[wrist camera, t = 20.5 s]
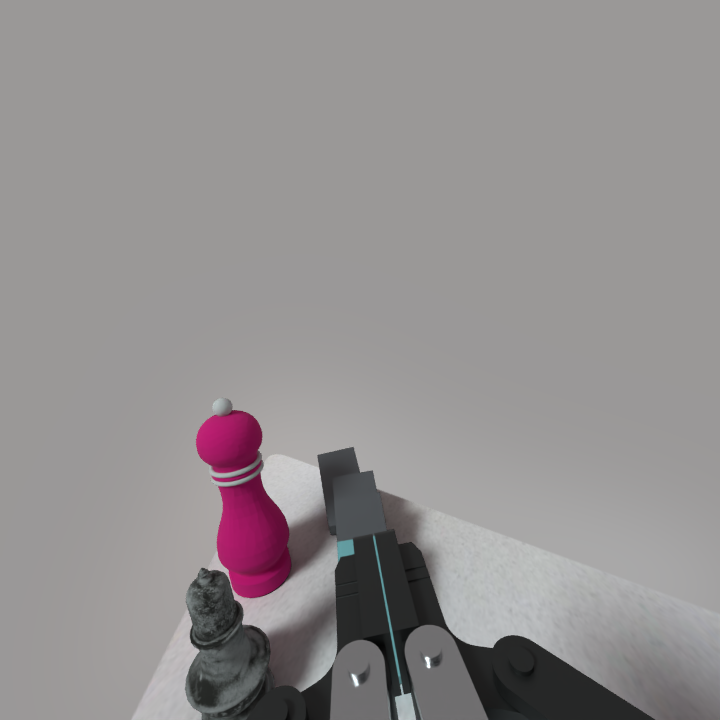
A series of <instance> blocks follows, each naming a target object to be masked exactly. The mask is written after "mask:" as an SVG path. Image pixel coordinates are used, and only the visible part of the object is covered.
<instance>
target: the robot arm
mask: <svg viewBox="0 0 720 720" xmlns="http://www.w3.org/2000/svg"><path fill="white" fill-rule="evenodd" d="M374 535H375V540H376V546H377V551H378V557H379V562H380V568H381V573H382V579H383V584H384V589H385V595H386V600H387V606H388V611H389V616H390V622H391V627H392V633H393V638H394V643H395V649H396V654H397V659H398V665H399V670H400V676H401V681H402V686H403V692H404V694H408V693H411V695H412V700H413V705H414V710H415V715H416V720H655V719H653V718H652V717H650V716H648V715H647V714H645V713H644V712H642V711H641V710H639V709H638V708H636V707H634V706H633V705H631V704H630V703H628V702H627V701H625V700H623V699H622V698H620V697H619V696H617V695H616V694H614V693H612V692H611V691H609V690H608V689H606V688H605V687H603V686H602V685H600V684H598V683H597V682H595V681H594V680H592V679H591V678H589V677H587V676H586V675H584V674H583V673H581V672H580V671H578V670H576V669H575V668H573V667H572V666H570V665H569V664H567V663H566V662H564V661H562V660H561V659H559V658H558V657H556V656H555V655H553V654H551V653H550V652H548V651H547V650H545V649H544V648H542V647H541V646H539V645H537V644H536V643H534V642H533V641H531V640H529V639H527V638H524V637H521V636H515V635H511V636H506V637H503V638H501V639H500V640H498V641H497V642H496V644H495V645H494V647H493V648H487V647H480V646H474V645H470V644H467V643H465V642H463V641H461V640H460V639H458V638H457V637H456V636H454V635H453V634H452V632H451V631H450V630H449V628H448V627H447V625H446V623H445V620H444V617H443V614H442V611H441V609H440V606H439V603H438V600H437V597H436V594H435V591H434V588H433V585H432V582H431V579H430V576H429V573H428V570H427V568H426V564H425V561H424V558H423V556H422V553H421V551H420V550H419V549H418V548H417V547H416V546H415V545H414V544H413V543H412V542H409V543H404V544H399V545H398V543H397V539H396V535H395V531H394V529H392V530H387V531H382V532H377V533H374ZM353 546H354V554H352V555H348V556H343V557H340V560H339V562H338V564H337V567H336V569H335V585H336V616H337V654H336V658H335V661H334V663H333V665H332V667H331V668H330V670H329V671H328V672H327V674H326V675H325V676H324V677H323V678H322V679H321V680H319V681H318V682H317V683H315V684H313V685H312V686H310V687H309V688H307V689H306V690H304V691H302V692H301V693H300V692H299V691H298V690H297V689H296V688H294V687H291V686H280V687H277V688H274V689H273V690H271V691H269V692H268V693H267V694H265V695H264V696H263V697H262V698H261V700H260V701H259V702H258V703H257V705H256V706H255V708H254V709H253V710H252V712H251V713H250V715H249V716H248V718H247V719H246V720H398V714H397V708H396V702H395V697H396V696H400V695H402V694H401V689H400V683H399V678H398V672H397V666H396V661H395V655H394V650H393V644H392V639H391V633H390V627H389V622H388V616H387V611H386V605H385V600H384V594H383V589H382V583H381V577H380V572H379V567H378V561H377V556H376V550H375V545H374V539H373V534H368V535H363V536H359V537H354V538H353Z"/></svg>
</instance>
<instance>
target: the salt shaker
mask: <svg viewBox="0 0 720 720" xmlns="http://www.w3.org/2000/svg"><path fill="white" fill-rule="evenodd" d="M186 603H187V607H188V610H189V614H190V617H191V620H192V623H193V625H192V628H191V630H190V639H191V643H192V644H193V646H194V647H195V648H197V649H199V651H200V652H199V653H198V654H197V656H196V657H195V659H194V661H193V663H192V664H191V666H190V669H189V672H188V675H187V678H186V687H185V690H186V695H187V700H188V701H189V703H190V704H191V706H192V707H193V708H194V709H196V710H198V711H199V712H201V713H202V720H246V719H247V718H248V716H249V715H250V713H251V712H252V710H253V709H254V708H255V706H256V705H257V703H258V702H259V701H260V700H261V698H262V697H263V696H264V695H265V694H267V693H268V692H269V691H271V690H273V689H274V688H275V684H274V677H273V675H272V673H271V670H270V669H269V668H268V667H267V666H268V663H269V658H270V645H269V640H268V638H267V636H266V634H265V633H264V632H263V631H262V630H261V629H260V628H257V627H255V626H252V625H242V620H243V616H244V615H243V608H242V606H241V604H240V603H239V602H238V601H235V600H234V597H233V593H232V589H231V585H230V582H229V579H228V577H227V575H226V574H225V573H224V572H221V571H218V570H212V571H208V570H207V569H205V568H201V570H200V572H199V573H198V577H197V578H196V579H195V580H194V581H193V582H192V584H191V585H190V587H189V589H188V591H187V594H186Z"/></svg>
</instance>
